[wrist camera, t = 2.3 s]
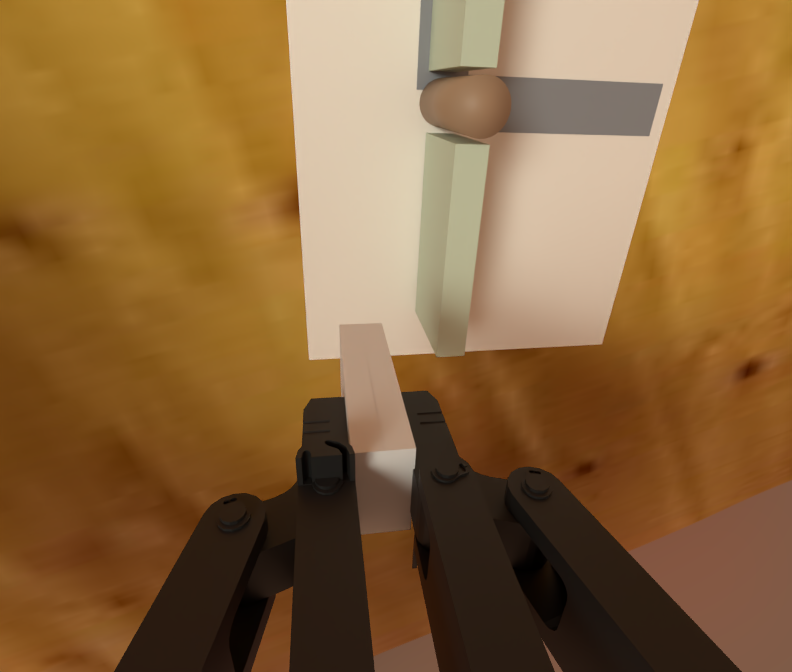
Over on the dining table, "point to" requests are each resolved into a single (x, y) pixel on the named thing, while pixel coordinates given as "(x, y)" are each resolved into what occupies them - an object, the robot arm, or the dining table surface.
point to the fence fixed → (466, 69)
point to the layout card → (506, 171)
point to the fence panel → (449, 237)
